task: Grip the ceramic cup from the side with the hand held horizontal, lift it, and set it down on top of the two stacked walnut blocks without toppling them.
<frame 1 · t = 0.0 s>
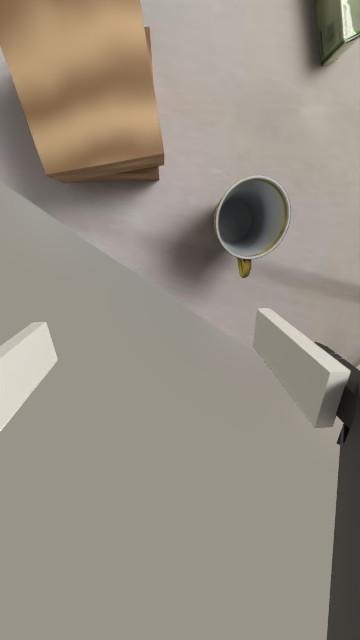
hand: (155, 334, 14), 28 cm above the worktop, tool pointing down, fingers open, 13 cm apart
ceramic cup: (230, 231, 38), on the worktop
tower bottom block: (107, 125, 32), on the worktop, touching tower top block
medication box: (324, 5, 28), on the worktop
tower top block: (98, 108, 27), point 5 cm above the worktop, touching tower bottom block
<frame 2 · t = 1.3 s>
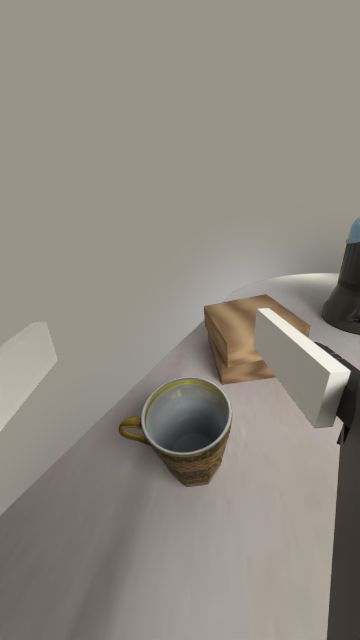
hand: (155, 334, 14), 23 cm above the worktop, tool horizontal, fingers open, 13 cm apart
ceramic cup: (183, 461, 29), on the worktop
tower bottom block: (247, 356, 46), on the worktop, touching tower top block
tower top block: (249, 336, 43), point 5 cm above the worktop, touching tower bottom block
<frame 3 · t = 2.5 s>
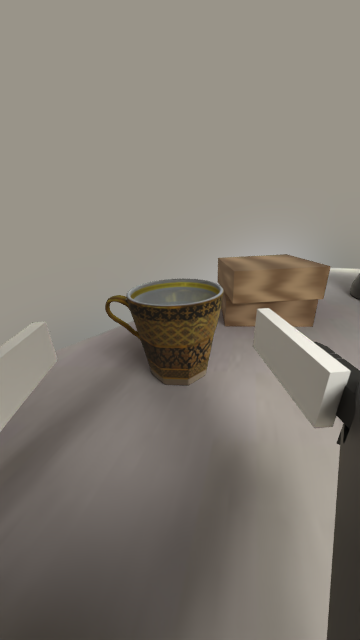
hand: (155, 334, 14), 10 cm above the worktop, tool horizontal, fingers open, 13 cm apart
ceramic cup: (167, 369, 27), on the worktop
tower bottom block: (258, 313, 43), on the worktop, touching tower top block
tower top block: (261, 289, 40), point 5 cm above the worktop, touching tower bottom block
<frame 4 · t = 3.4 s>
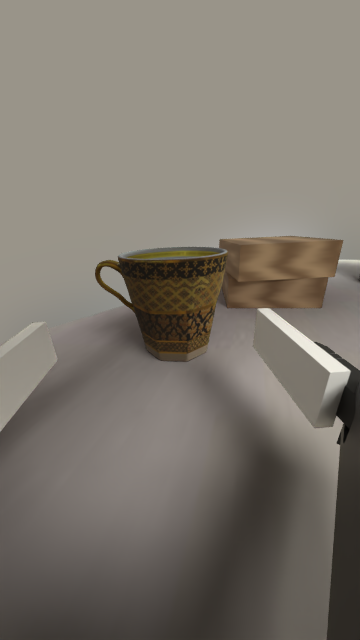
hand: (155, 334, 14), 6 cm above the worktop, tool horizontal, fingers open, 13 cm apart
ceramic cup: (164, 346, 24), on the worktop
tower bottom block: (262, 296, 40), on the worktop, touching tower top block
tower top block: (267, 270, 38), point 5 cm above the worktop, touching tower bottom block
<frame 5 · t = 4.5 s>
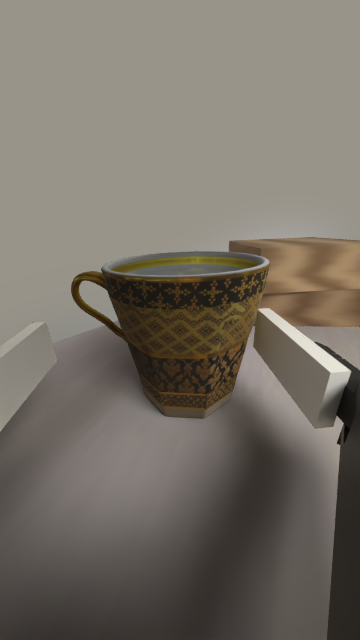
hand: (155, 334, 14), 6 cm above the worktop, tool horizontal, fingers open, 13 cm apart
ceramic cup: (170, 388, 18), on the worktop, touching gripper
tower bottom block: (284, 309, 34), on the worktop
tower top block: (287, 278, 32), point 4 cm above the worktop
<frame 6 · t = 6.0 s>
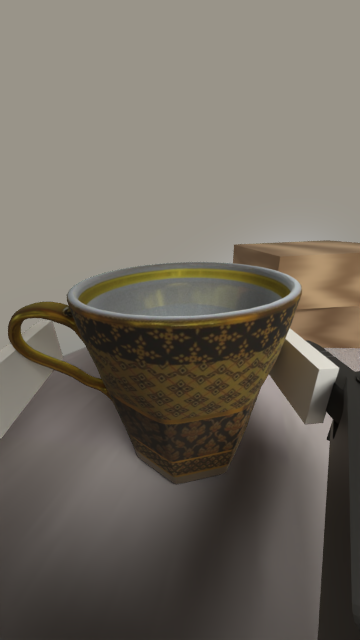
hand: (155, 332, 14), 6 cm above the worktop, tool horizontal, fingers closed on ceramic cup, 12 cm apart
ceramic cup: (165, 437, 14), on the worktop, touching gripper
tower bottom block: (297, 324, 29), on the worktop, touching tower top block
tower top block: (302, 288, 27), point 5 cm above the worktop, touching tower bottom block
when the fingers open (17 cm above the worktop, at t = 11.9 s): ceramic cup drops 2 cm, resting on tower top block.
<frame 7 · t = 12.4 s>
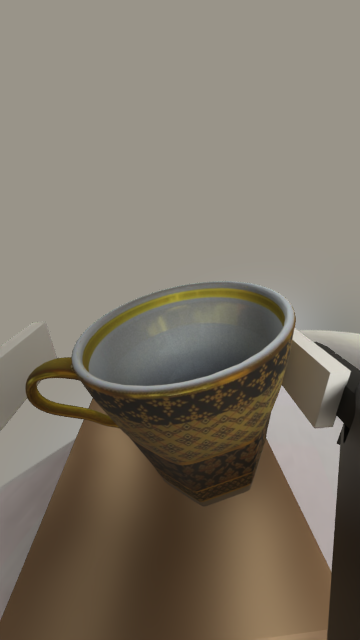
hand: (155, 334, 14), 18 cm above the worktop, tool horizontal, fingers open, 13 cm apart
ceramic cup: (188, 456, 15), point 10 cm above the worktop, touching gripper, tower top block
tower top block: (173, 505, 16), point 4 cm above the worktop, touching ceramic cup, tower bottom block
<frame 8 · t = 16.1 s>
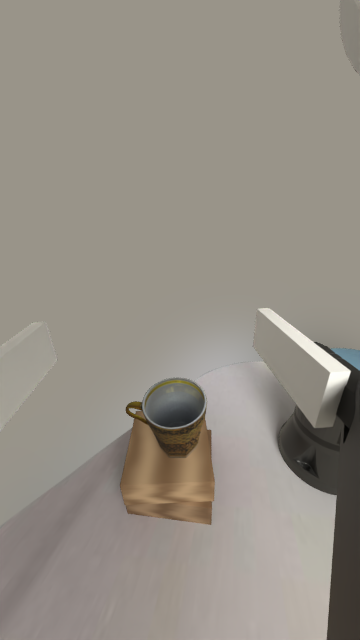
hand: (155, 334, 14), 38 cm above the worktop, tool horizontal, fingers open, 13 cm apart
ceramic cup: (170, 441, 38), point 10 cm above the worktop, touching tower top block
tower bottom block: (174, 476, 42), on the worktop, touching tower top block
tower top block: (170, 459, 40), point 4 cm above the worktop, touching ceramic cup, tower bottom block
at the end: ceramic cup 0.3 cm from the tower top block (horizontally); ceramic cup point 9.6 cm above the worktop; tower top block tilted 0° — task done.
